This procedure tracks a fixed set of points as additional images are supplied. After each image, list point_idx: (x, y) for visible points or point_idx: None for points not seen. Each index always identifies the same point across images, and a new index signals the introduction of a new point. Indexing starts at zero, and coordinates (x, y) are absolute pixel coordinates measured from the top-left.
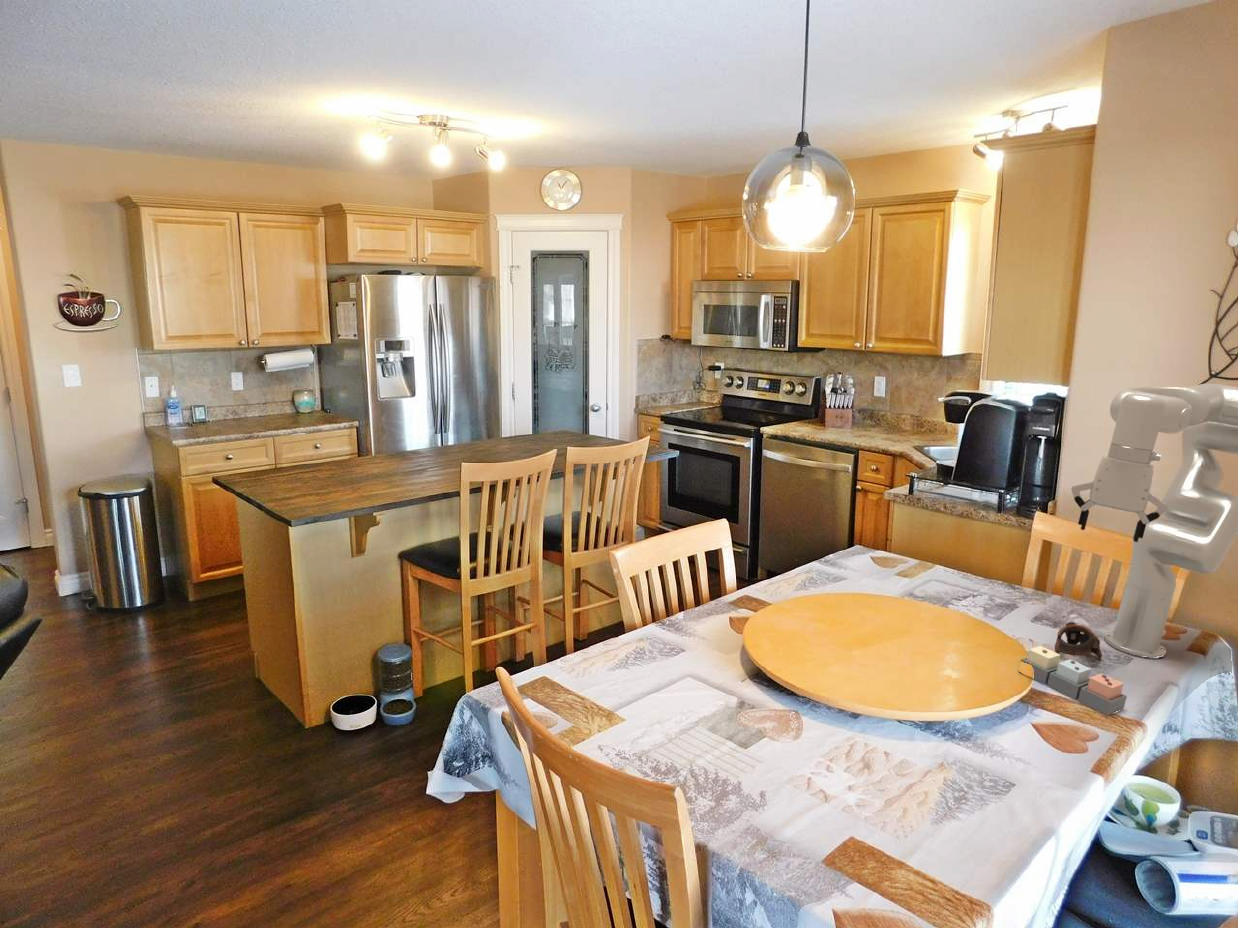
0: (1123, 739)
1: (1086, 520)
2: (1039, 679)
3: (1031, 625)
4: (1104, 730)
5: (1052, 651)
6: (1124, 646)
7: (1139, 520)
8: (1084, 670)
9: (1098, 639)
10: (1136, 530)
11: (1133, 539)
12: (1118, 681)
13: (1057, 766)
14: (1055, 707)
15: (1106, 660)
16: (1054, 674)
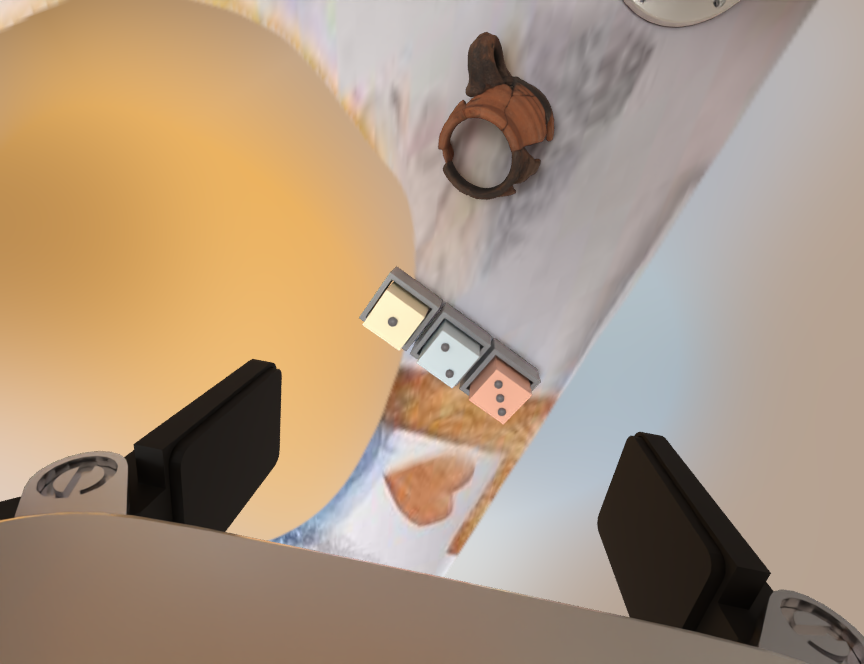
0: (509, 466)
1: (233, 516)
2: None
3: None
4: (486, 452)
5: (409, 308)
6: None
7: (718, 620)
8: (464, 371)
9: (540, 138)
10: (625, 602)
11: (609, 488)
12: (523, 389)
13: (410, 555)
14: (422, 414)
15: (569, 119)
16: (417, 356)
